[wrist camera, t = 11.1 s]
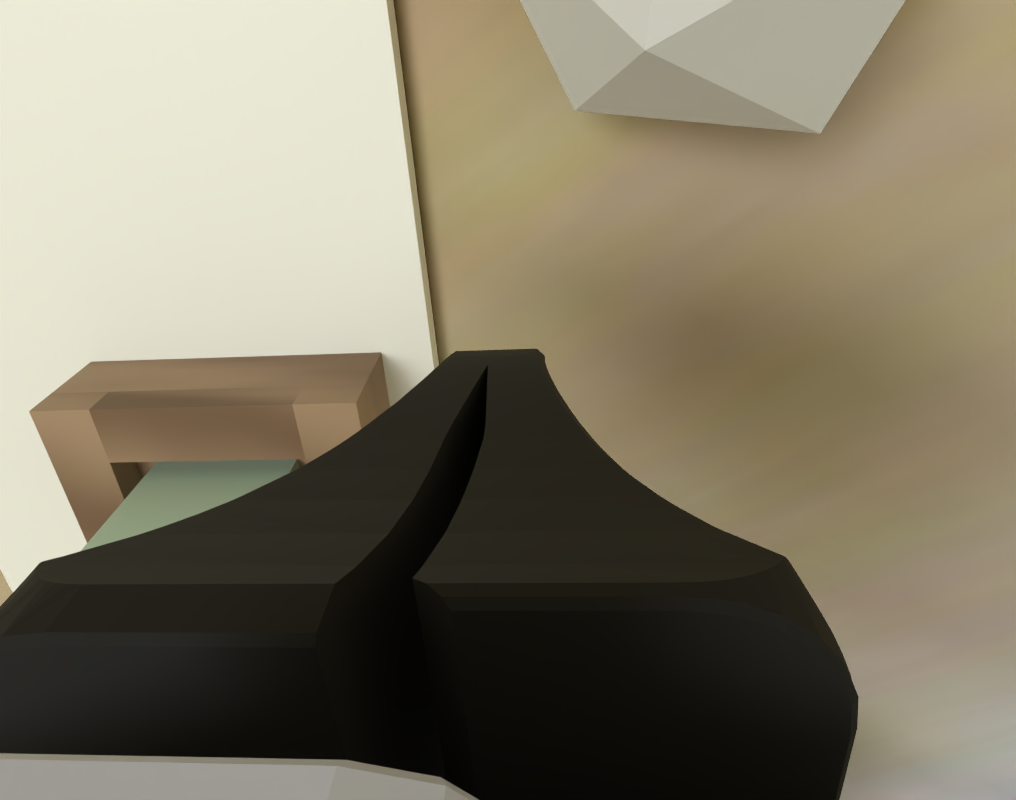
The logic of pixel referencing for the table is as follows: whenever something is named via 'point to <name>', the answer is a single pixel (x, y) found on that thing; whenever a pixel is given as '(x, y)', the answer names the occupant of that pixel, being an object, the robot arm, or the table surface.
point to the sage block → (186, 493)
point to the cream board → (195, 206)
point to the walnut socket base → (199, 417)
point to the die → (711, 56)
